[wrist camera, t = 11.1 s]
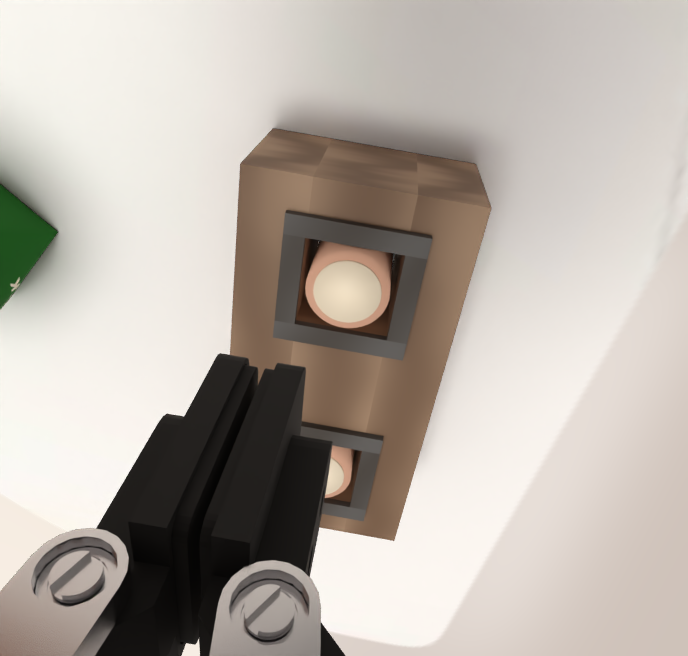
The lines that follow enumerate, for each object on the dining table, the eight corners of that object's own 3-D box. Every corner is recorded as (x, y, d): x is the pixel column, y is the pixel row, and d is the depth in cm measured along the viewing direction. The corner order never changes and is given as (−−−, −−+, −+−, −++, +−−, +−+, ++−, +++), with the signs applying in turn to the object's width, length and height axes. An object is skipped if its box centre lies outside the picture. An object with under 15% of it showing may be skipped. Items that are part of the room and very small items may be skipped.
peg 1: (400, 208, 32) (397, 262, 26) (387, 272, 34) (381, 336, 28) (329, 196, 32) (310, 246, 26) (320, 260, 34) (300, 321, 28)
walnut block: (476, 164, 31) (492, 210, 25) (396, 461, 43) (394, 546, 36) (273, 128, 31) (237, 166, 25) (248, 435, 43) (219, 514, 36)
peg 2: (364, 380, 39) (355, 456, 32) (355, 426, 41) (345, 505, 34) (305, 370, 39) (285, 443, 32) (298, 416, 41) (278, 493, 35)
